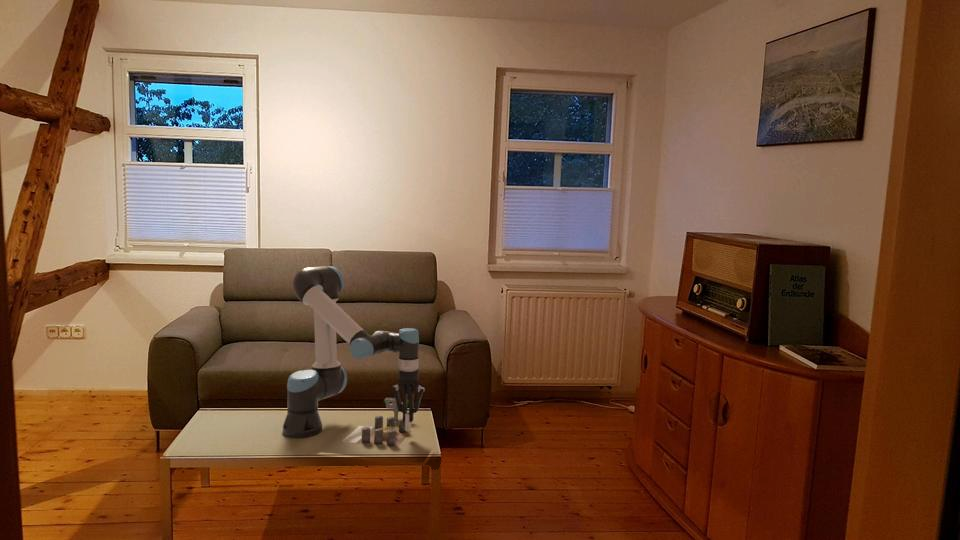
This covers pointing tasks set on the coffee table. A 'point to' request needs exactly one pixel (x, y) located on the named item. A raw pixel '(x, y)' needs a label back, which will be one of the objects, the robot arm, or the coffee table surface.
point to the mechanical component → (393, 406)
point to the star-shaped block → (386, 431)
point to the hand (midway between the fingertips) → (408, 429)
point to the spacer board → (379, 433)
